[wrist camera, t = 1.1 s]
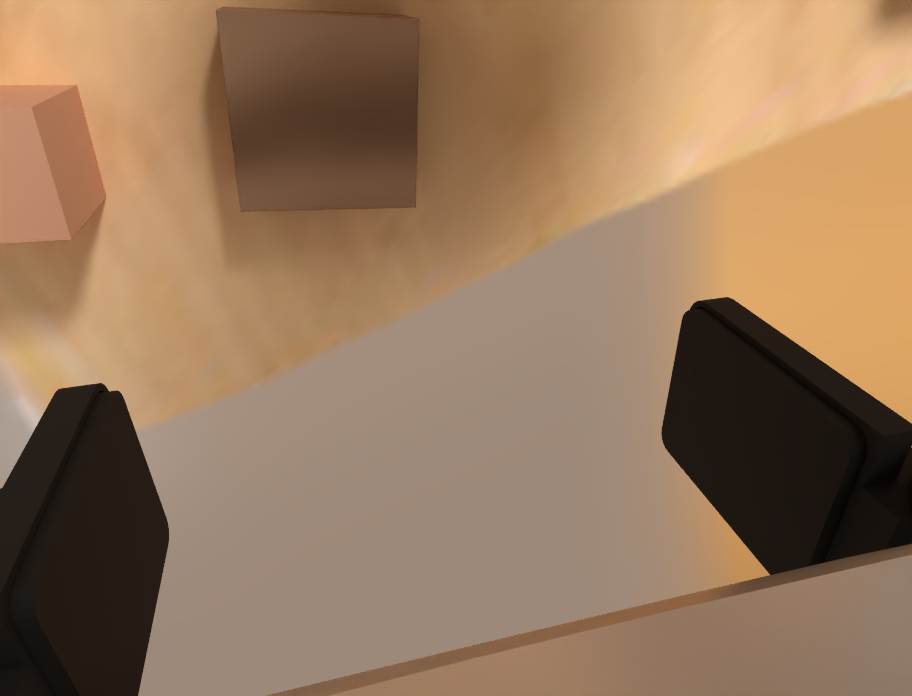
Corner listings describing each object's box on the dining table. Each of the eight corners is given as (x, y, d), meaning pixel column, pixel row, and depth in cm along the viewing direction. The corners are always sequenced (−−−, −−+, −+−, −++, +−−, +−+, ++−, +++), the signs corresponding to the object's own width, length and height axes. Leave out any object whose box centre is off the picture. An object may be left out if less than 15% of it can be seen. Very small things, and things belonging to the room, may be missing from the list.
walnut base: (223, 6, 28) (216, 10, 24) (403, 15, 29) (418, 19, 26) (244, 187, 31) (240, 211, 28) (402, 184, 33) (415, 207, 30)
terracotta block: (-54, 85, 26) (-132, 109, 21) (77, 84, 27) (31, 107, 22) (-12, 201, 29) (-74, 247, 24) (106, 196, 30) (71, 239, 25)
